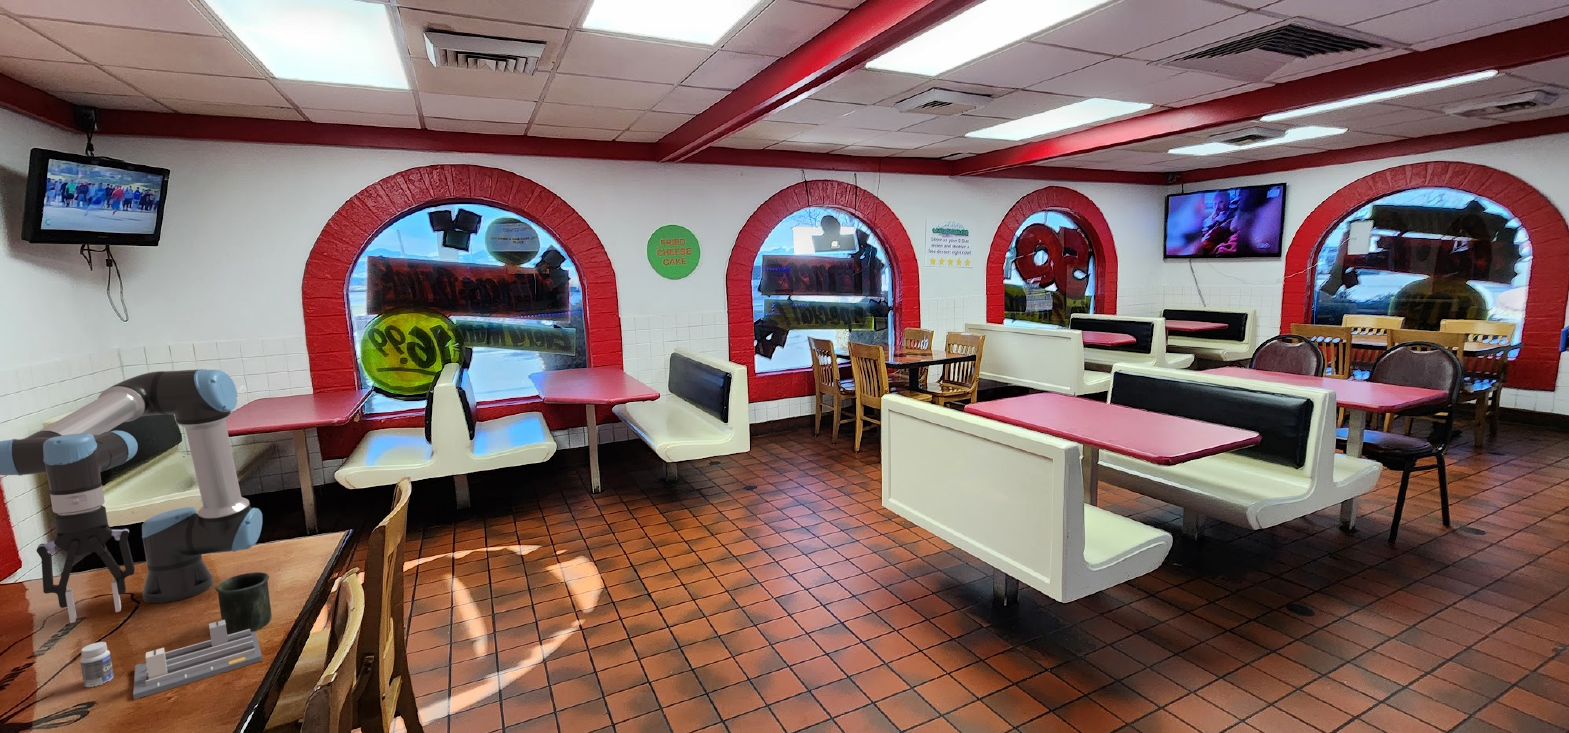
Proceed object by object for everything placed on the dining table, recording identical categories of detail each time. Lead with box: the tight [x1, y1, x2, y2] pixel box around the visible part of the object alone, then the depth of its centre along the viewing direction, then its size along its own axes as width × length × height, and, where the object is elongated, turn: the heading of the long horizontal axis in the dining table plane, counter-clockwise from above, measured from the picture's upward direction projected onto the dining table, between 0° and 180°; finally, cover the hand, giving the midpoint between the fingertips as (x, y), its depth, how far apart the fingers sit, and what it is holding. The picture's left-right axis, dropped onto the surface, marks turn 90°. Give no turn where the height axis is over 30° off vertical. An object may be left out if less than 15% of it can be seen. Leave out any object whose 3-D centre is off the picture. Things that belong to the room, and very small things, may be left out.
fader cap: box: [145, 647, 167, 679], centre depth 152 cm, size 3×3×6 cm
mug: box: [214, 571, 273, 635], centre depth 178 cm, size 11×15×12 cm
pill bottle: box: [80, 641, 114, 688], centre depth 153 cm, size 5×5×8 cm
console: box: [132, 620, 263, 700], centre depth 159 cm, size 15×22×7 cm
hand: (96, 614), depth 145 cm, fingers open, 6 cm apart
